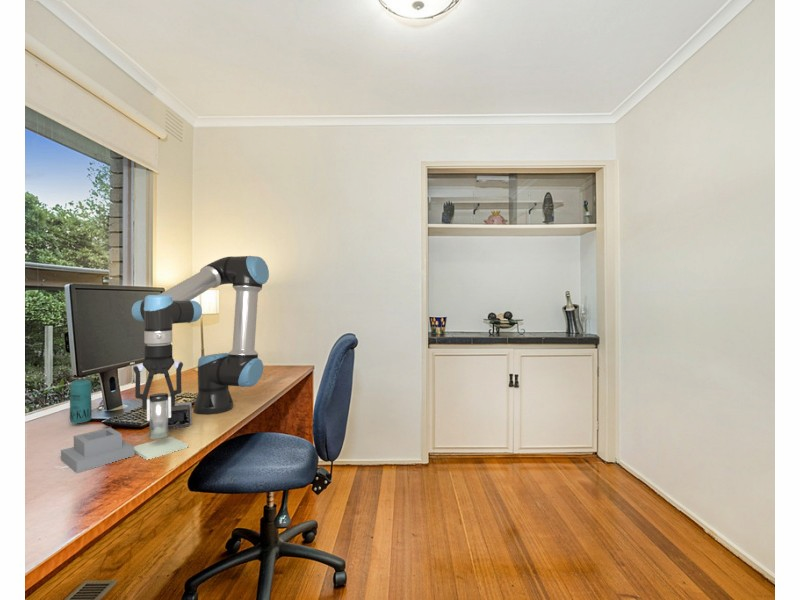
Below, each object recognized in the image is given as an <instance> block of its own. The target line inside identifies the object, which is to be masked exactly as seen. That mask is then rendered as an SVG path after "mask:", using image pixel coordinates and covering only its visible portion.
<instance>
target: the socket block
mask: <svg viewBox="0 0 800 600" xmlns="http://www.w3.org/2000/svg"><path fill="white" fill-rule="evenodd" d="M134 446H135V445H132V444H131V443H129V442H127V441H125V440H124V439H123V433H121V432H120V431H118V430H116V429H114V428H112V427H107V428H106V427H105V428H102V429H98V430H94V431H90V432H86V433H80V434H77V435H73V446H72V447H67V448H64V449H61V450H60V460H61V462H63V463H64V464H65V465H66V466H67V467H69V468H70V469H71V470H72V471H74V472H75V474H79V473H82V471H83V472H86V471H88V470H89V469H90V470H92V468H93V469H96V468H99V467H98V466H100V467H102V465H103V466H106V465H105V464H107V465H109V464H108V463H110V464H113V463H112V462H114V463H116V462H115V461H117V462H119V461H118V460H121V459H124V460H126V459H125V458H127V459H129V458H128V457H131V458H133V457H132V456H134V457H135V453H134ZM121 461H122V460H121ZM95 467H96V468H95ZM85 470H86V471H85Z"/></svg>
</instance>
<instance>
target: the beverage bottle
mask: <svg viewBox="0 0 800 600" xmlns="http://www.w3.org/2000/svg"><path fill="white" fill-rule="evenodd" d="M86 377H88V376H76V375H74V374H73V378H74V379H75V380H73V381H72V382H70V383H69V422H70V424H71V423H72V424H80V423H81V424H82V423H85V422H89V421H91V420H92V413H93V411H92V409H93V408H92V401H93V400H92V381H91V380H90V379H87V378H86ZM76 378H77V379H76ZM78 378H79V379H78ZM85 378H86V379H85Z"/></svg>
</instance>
